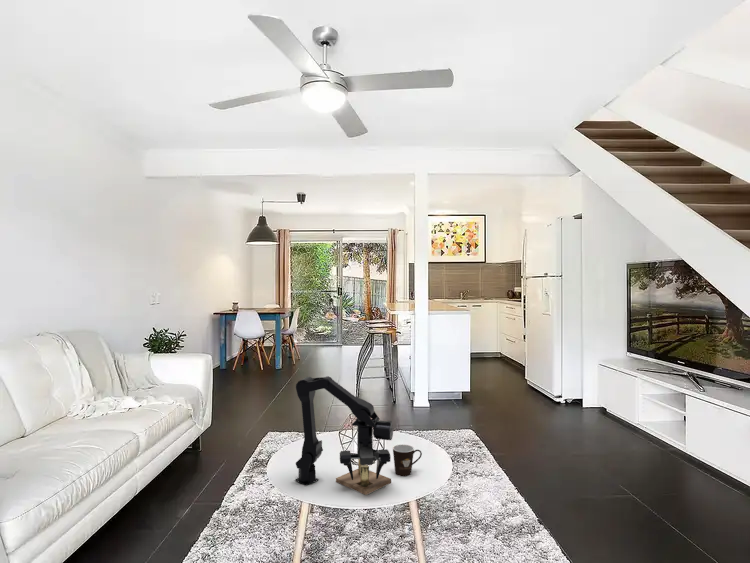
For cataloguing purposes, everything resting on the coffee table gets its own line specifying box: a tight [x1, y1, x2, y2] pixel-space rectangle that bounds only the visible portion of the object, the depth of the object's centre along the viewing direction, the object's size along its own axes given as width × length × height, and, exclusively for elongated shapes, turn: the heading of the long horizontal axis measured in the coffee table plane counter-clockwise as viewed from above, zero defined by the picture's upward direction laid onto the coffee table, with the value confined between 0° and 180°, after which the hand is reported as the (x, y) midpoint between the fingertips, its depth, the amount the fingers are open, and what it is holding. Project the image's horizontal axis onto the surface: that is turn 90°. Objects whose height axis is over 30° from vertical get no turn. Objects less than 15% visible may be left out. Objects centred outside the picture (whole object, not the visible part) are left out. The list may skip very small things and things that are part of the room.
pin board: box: [335, 459, 392, 496], centre depth 178 cm, size 16×14×7 cm
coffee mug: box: [392, 444, 423, 477], centre depth 186 cm, size 12×9×10 cm
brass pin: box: [360, 464, 370, 487], centre depth 173 cm, size 3×3×8 cm
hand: (364, 479), depth 173 cm, fingers open, 9 cm apart
